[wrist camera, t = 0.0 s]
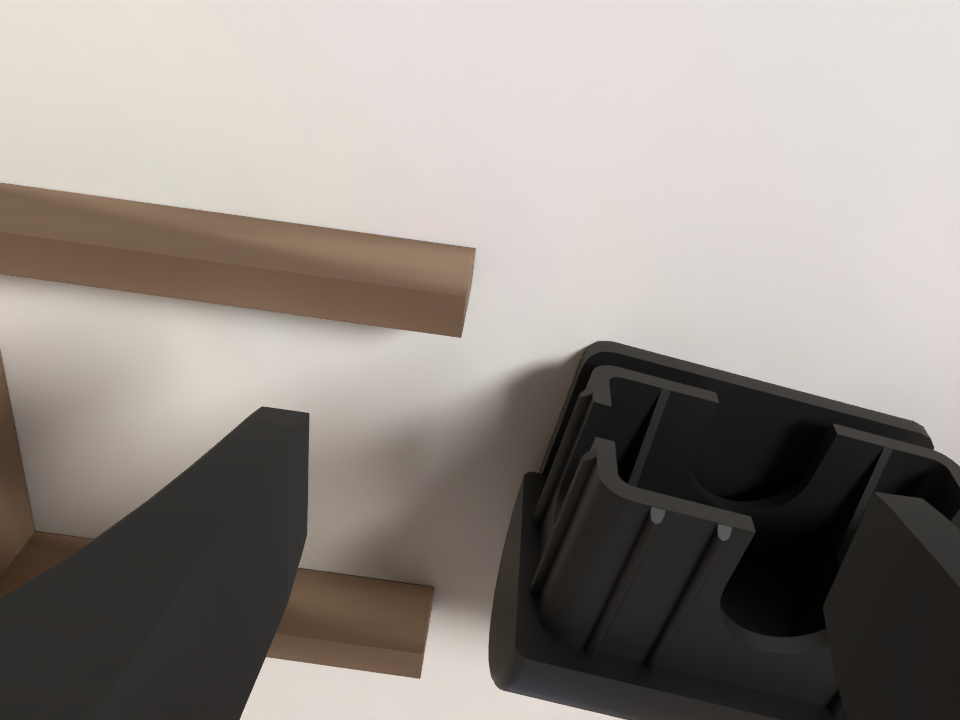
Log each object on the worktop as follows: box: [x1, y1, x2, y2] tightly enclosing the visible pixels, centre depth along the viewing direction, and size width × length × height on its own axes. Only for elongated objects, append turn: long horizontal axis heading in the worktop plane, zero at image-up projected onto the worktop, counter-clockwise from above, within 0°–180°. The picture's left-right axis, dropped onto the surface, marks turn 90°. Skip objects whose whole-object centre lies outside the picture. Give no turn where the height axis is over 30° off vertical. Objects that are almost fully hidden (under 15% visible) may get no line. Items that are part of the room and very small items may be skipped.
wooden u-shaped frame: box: [0, 183, 476, 679], centre depth 23 cm, size 12×13×2 cm
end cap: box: [489, 341, 960, 720], centre depth 21 cm, size 10×7×7 cm
